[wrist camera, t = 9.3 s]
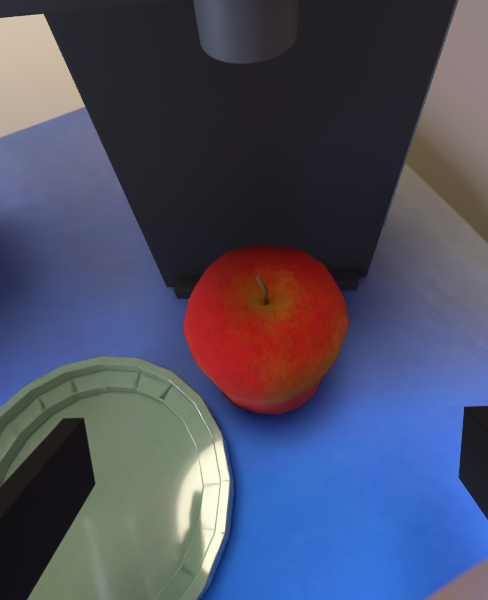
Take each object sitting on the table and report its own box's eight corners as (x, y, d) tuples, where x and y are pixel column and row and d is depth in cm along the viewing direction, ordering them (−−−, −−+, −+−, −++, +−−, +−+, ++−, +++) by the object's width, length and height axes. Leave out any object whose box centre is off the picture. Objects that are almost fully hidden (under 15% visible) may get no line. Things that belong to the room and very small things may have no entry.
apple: (233, 453, 26) (203, 398, 16) (192, 343, 30) (148, 243, 20) (353, 401, 27) (398, 318, 17) (298, 302, 31) (307, 187, 21)
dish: (6, 751, 20) (-35, 783, 17) (-49, 451, 27) (-83, 442, 25) (286, 551, 23) (287, 552, 20) (167, 333, 30) (156, 314, 28)
